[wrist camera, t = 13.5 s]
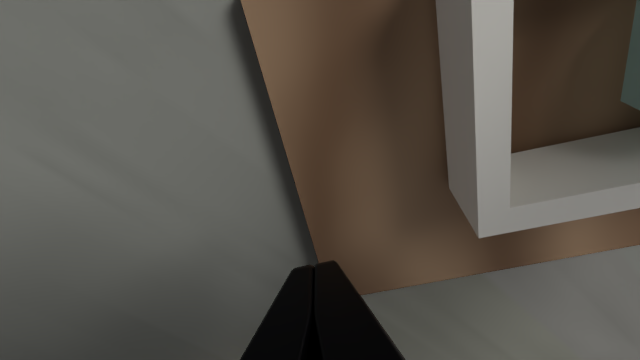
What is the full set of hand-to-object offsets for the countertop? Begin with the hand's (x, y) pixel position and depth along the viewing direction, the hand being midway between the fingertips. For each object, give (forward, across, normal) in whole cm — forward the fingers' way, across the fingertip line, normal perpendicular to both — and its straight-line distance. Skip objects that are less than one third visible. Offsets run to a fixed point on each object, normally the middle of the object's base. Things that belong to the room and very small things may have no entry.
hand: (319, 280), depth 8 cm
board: (+9, -8, +2) cm, 12 cm away
